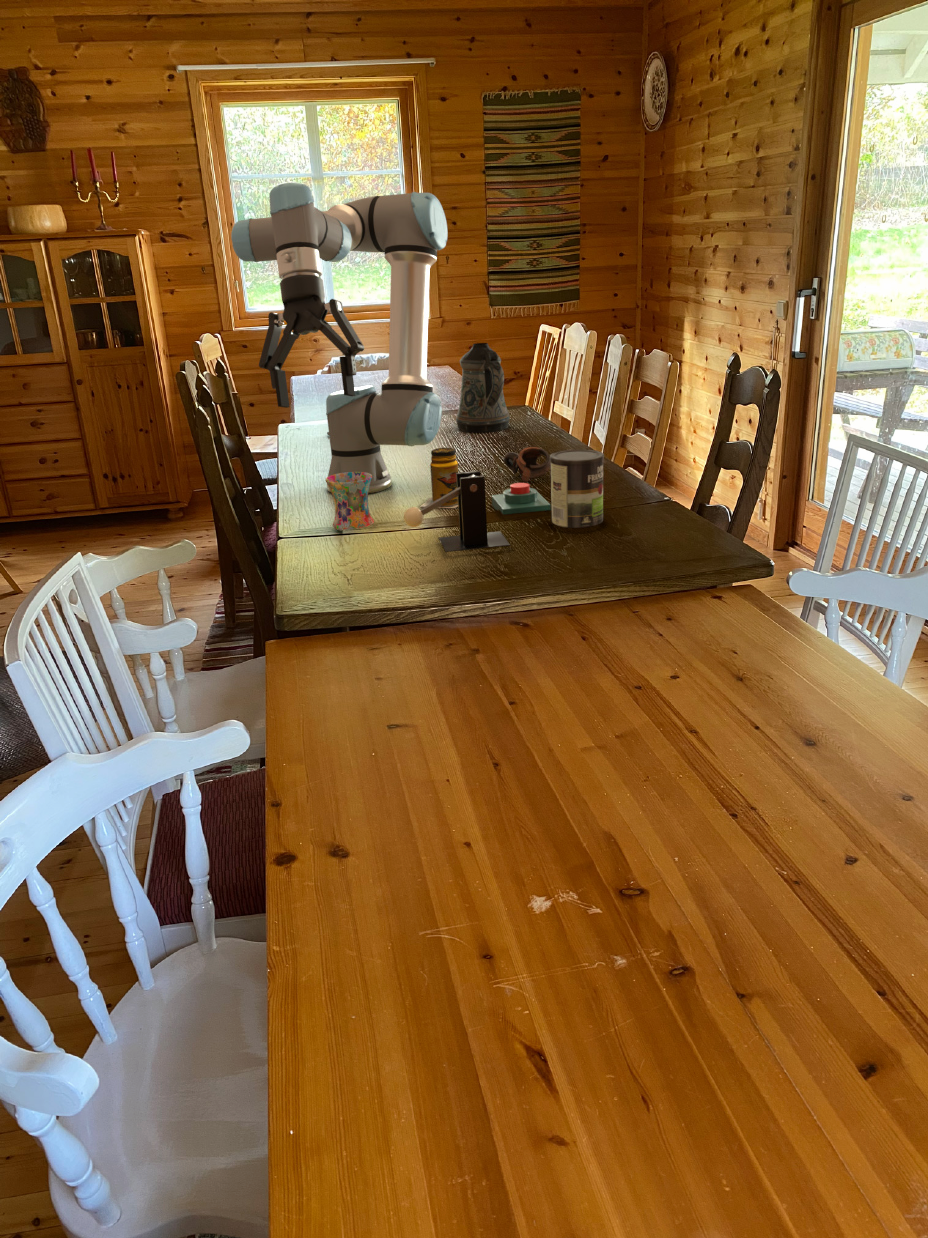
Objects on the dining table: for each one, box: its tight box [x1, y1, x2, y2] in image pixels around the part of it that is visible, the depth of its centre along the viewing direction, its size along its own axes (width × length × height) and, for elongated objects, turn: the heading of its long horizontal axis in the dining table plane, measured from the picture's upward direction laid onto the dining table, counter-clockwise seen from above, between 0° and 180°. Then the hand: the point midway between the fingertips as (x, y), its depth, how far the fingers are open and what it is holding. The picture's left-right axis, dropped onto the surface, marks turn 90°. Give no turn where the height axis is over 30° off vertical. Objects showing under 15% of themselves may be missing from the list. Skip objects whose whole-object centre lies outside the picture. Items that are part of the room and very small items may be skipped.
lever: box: [403, 474, 475, 528], centre depth 167 cm, size 15×4×4 cm, turn 100°
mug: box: [324, 472, 375, 532], centre depth 186 cm, size 12×9×11 cm
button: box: [509, 482, 531, 494], centre depth 192 cm, size 4×4×2 cm
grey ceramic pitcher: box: [455, 342, 511, 434], centre depth 276 cm, size 16×19×25 cm
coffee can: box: [549, 448, 605, 529], centre depth 178 cm, size 10×10×14 cm
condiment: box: [419, 447, 459, 509], centre depth 199 cm, size 7×8×12 cm
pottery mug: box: [503, 446, 551, 483], centre depth 218 cm, size 12×10×8 cm
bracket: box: [438, 470, 511, 553], centre depth 169 cm, size 12×9×14 cm
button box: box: [491, 487, 552, 516], centre depth 192 cm, size 12×10×4 cm
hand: (316, 401), depth 163 cm, fingers open, 13 cm apart
